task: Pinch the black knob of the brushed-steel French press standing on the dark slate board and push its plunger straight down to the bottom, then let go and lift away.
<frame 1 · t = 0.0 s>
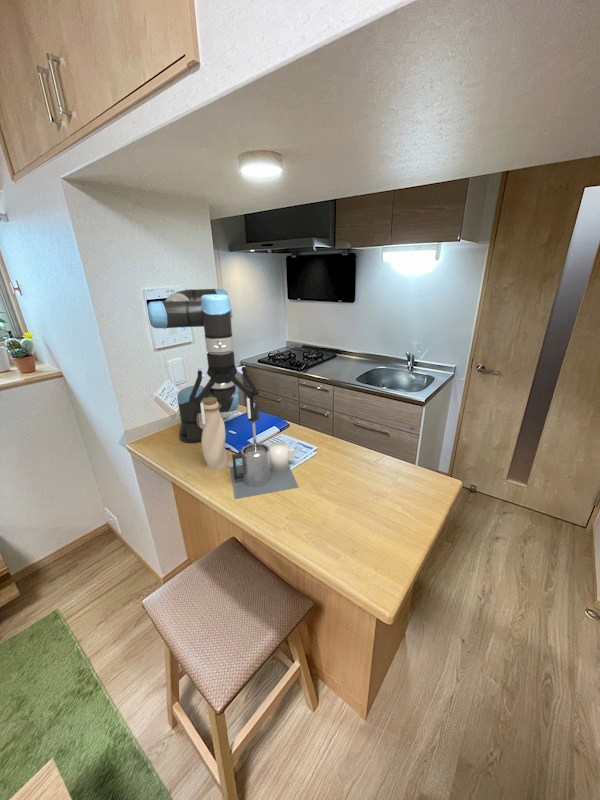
hand: (227, 419, 97), 28 cm above the worktop, fingers open, 13 cm apart
press carafe: (257, 479, 114), resting on slate board
plunger: (254, 428, 107), point 21 cm above the worktop, slide at 0.0 cm
water bottle: (216, 467, 123), on the worktop
cream mug: (278, 467, 121), point 1 cm above the worktop, touching slate board
slate board: (262, 478, 116), on the worktop
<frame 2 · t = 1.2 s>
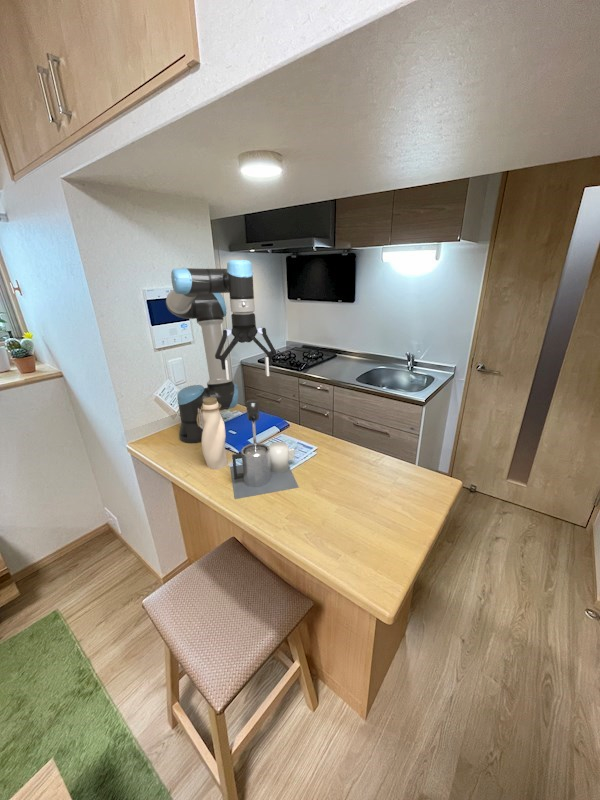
hand: (247, 377, 108), 37 cm above the worktop, fingers open, 13 cm apart
nothing on the worktop moved.
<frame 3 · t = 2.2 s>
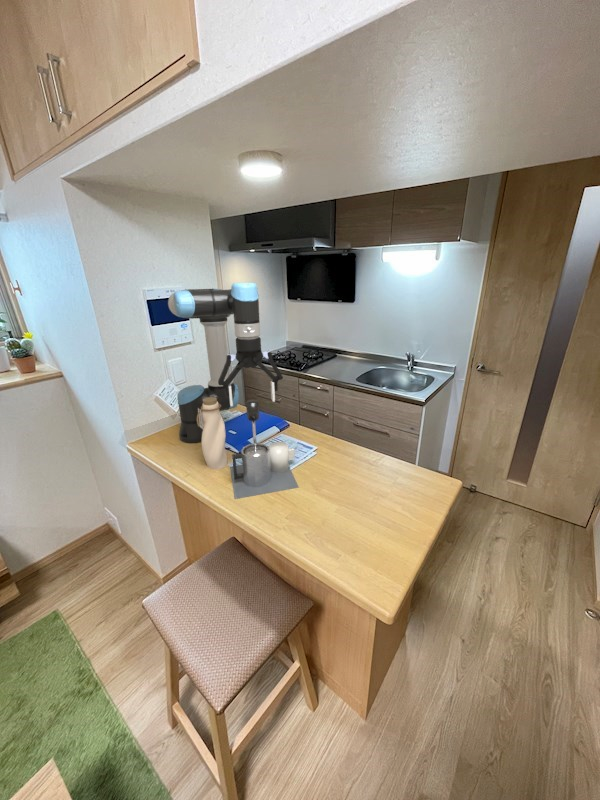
hand: (252, 402, 103), 31 cm above the worktop, fingers open, 13 cm apart
nothing on the worktop moved.
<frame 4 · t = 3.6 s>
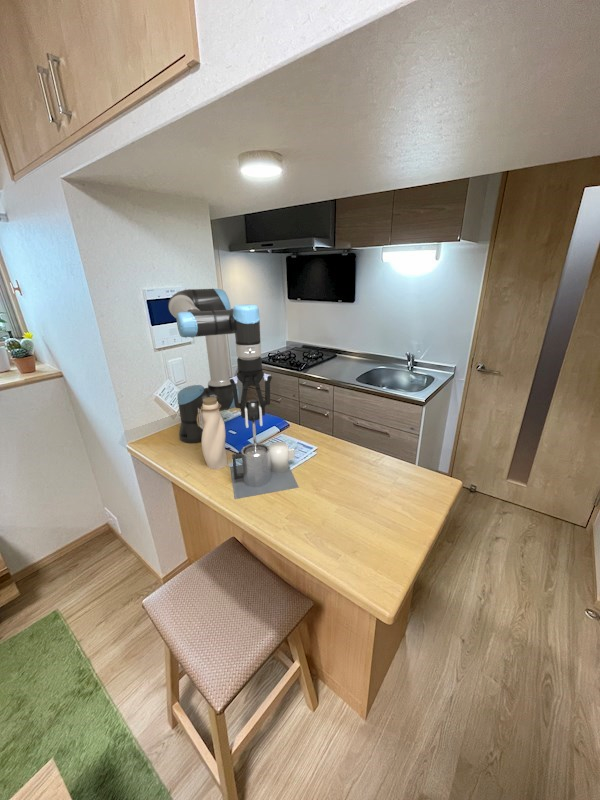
hand: (253, 424, 106), 23 cm above the worktop, fingers closed on plunger, 4 cm apart
plunger: (254, 428, 107), point 21 cm above the worktop, slide at 0.0 cm, touching gripper
everything else where it was.
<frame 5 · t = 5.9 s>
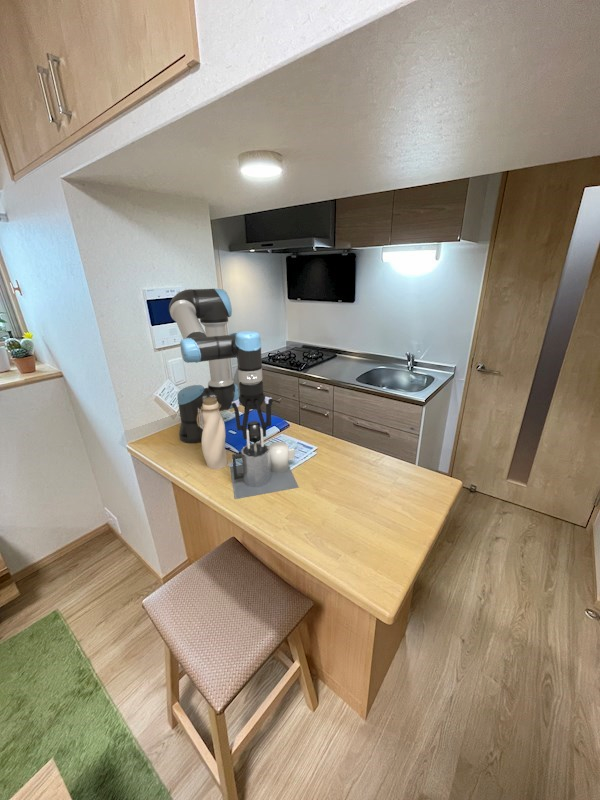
hand: (255, 445, 109), 15 cm above the worktop, fingers closed on plunger, 4 cm apart
plunger: (255, 448, 110), point 13 cm above the worktop, slide at 7.9 cm, touching gripper
everything else where it was.
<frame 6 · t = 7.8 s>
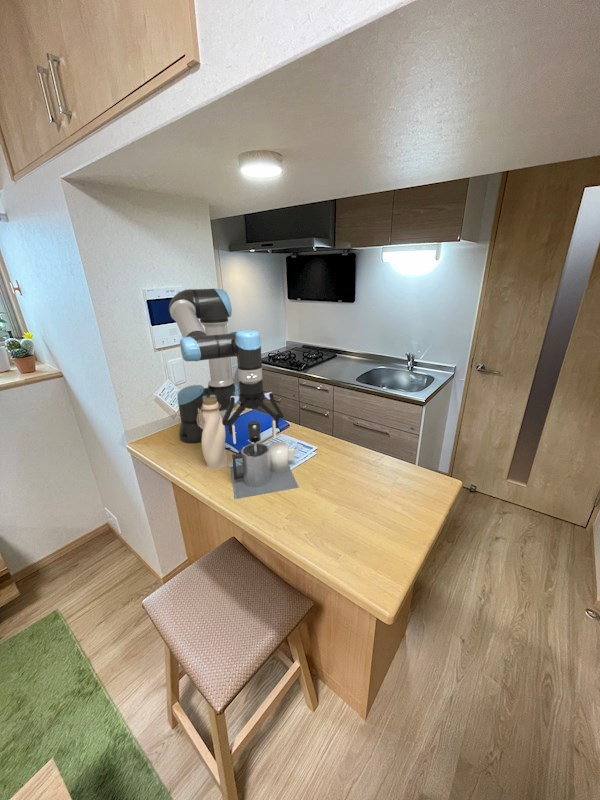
hand: (254, 439, 108), 17 cm above the worktop, fingers open, 13 cm apart
plunger: (255, 449, 110), point 13 cm above the worktop, slide at 7.9 cm
everything else where it was.
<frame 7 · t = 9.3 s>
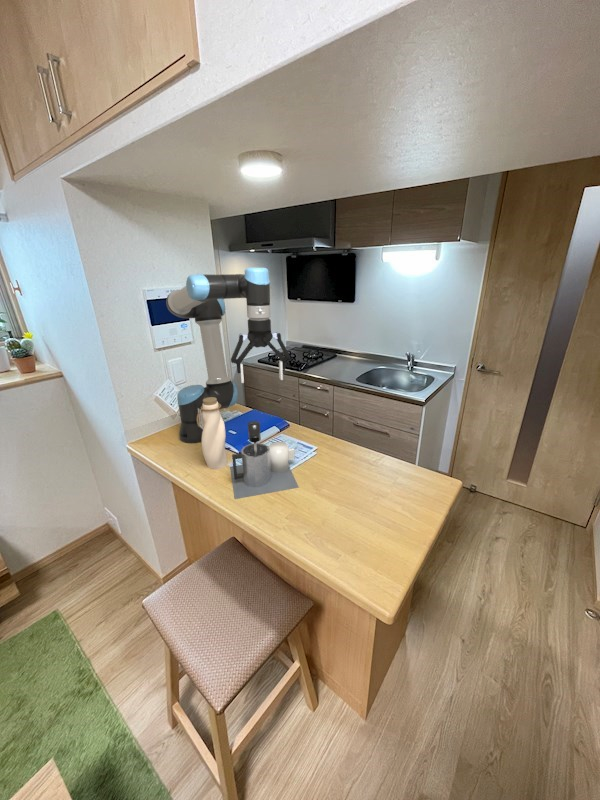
hand: (262, 380, 111), 35 cm above the worktop, fingers open, 13 cm apart
nothing on the worktop moved.
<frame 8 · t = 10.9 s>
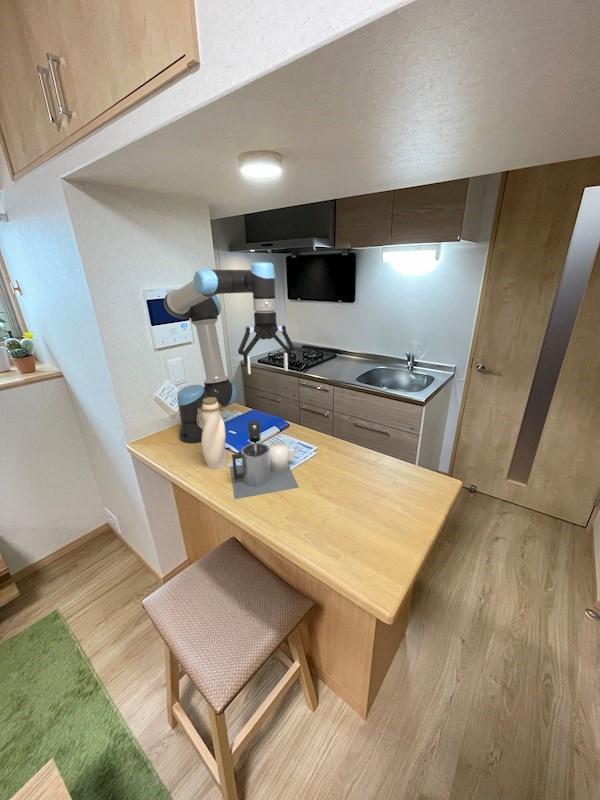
hand: (267, 371, 116), 37 cm above the worktop, fingers open, 13 cm apart
nothing on the worktop moved.
at the end: plunger slide at 7.9 cm; the gripper is holding nothing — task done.
